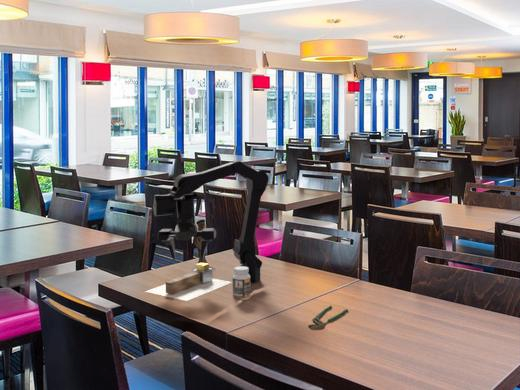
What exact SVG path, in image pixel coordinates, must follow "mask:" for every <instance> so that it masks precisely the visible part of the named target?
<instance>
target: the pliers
mask: <svg viewBox="0 0 520 390" xmlns="http://www.w3.org/2000/svg"><path fill="white" fill-rule="evenodd" d="M332 308H333V306H332V305H329V306H328V307H326V308H324V309H323V310H322V311H321V312H319V313H318V314H317V315H316V316H314V317H313V318H312V319H311V320H312V322H314V323H312V324H308V325H307V327H308V328H309V329H310V330H322V329H323V328H324V327H325V326H327V325H328V324H330V323H332V322H334V321H336V320H337V319H339V318H341V317H343V316H344V315H345V314H347V313H348V312H349V309H347V308H346V309H345V310H342V311H341V312H340V313H338V314H336V315H334V316H333V317H332V316H331V317H330V318H329V319H328V320H327V321H326V322H323V321H322V320H321V318H322V317H323V316H324V315H325V314H326V313H327V312H328V311H330V310H332Z"/></svg>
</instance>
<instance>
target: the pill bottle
mask: <svg viewBox="0 0 520 390" xmlns="http://www.w3.org/2000/svg"><path fill="white" fill-rule="evenodd" d="M233 272H234V274H233V275H232V297H233V298H238V301H247V300H250V298H251V297H252V296H251V295H252V294H251V293H252V291H251V290H252V289H251V287H252V286H251V284H252V283H251V277H250V275H249V274H248V272H249V268H248V267H245V266H241V265H240V266H239V265H237V266H235V267H234V268H233Z"/></svg>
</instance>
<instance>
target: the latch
mask: <svg viewBox="0 0 520 390" xmlns="http://www.w3.org/2000/svg"><path fill="white" fill-rule="evenodd" d="M209 268H210V263H198V262H197V263H195V269H196V270H201V271H205V270H208V269H209Z"/></svg>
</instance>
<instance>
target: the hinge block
mask: <svg viewBox="0 0 520 390" xmlns="http://www.w3.org/2000/svg"><path fill="white" fill-rule="evenodd" d="M192 272H195V273H199V277H200V284H206V283H209V282H211V281H212V278H213V268H211V267H209V269H208V270H205V271H201V270H196V268H195V269H193V270H192Z"/></svg>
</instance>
